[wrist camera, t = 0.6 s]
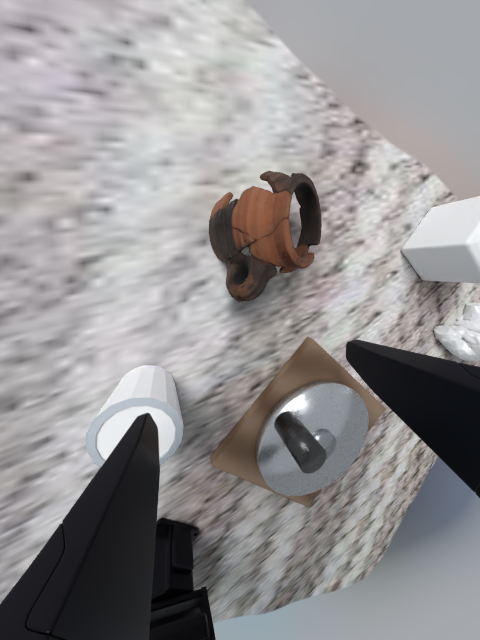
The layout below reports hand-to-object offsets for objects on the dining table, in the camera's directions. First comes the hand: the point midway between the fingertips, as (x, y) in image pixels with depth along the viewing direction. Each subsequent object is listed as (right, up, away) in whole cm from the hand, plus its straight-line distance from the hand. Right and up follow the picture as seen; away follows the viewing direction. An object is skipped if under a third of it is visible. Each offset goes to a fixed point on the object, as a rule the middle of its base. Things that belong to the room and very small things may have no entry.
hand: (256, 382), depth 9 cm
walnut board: (+9, -13, +22) cm, 27 cm away
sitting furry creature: (+37, 0, +28) cm, 46 cm away
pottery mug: (0, +11, +14) cm, 17 cm away
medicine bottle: (+26, +13, +21) cm, 36 cm away
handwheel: (+9, -14, +20) cm, 26 cm away
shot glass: (-11, -5, +14) cm, 18 cm away
